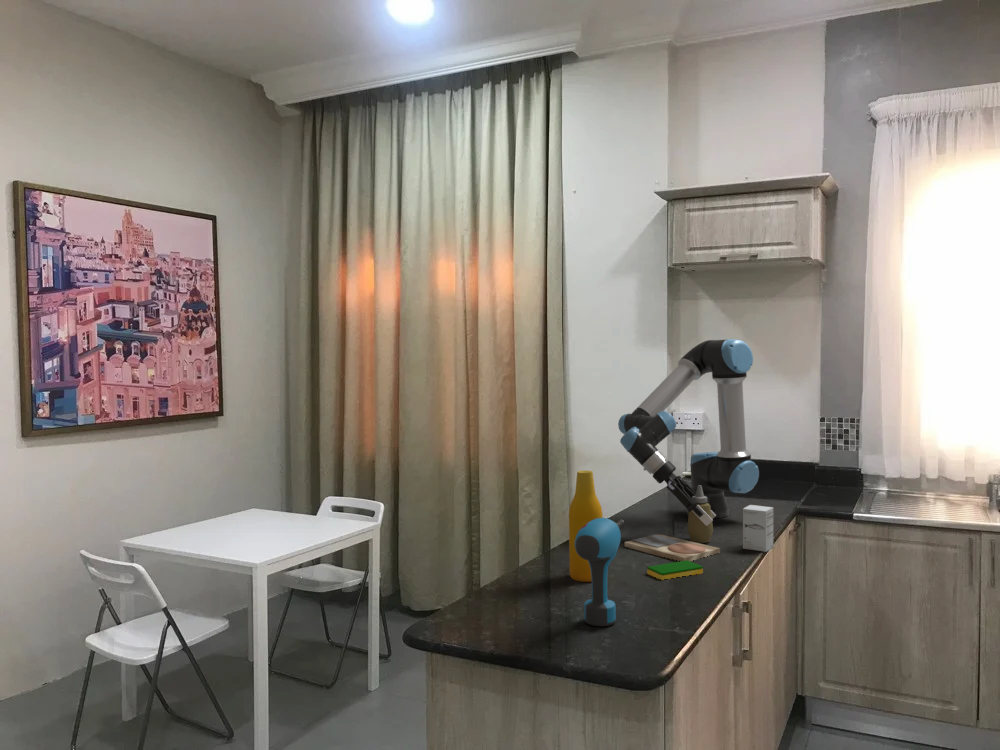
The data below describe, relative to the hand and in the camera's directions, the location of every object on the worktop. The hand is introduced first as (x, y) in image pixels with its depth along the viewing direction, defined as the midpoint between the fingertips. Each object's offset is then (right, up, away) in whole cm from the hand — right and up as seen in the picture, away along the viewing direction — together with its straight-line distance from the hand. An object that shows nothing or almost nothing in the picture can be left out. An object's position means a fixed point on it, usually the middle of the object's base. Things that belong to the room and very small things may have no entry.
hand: (711, 520), depth 243 cm
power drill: (-42, -10, -65) cm, 78 cm away
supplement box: (+12, -7, -8) cm, 16 cm away
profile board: (-15, -7, -8) cm, 18 cm away
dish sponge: (-19, -9, -32) cm, 39 cm away
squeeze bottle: (-3, -7, +2) cm, 8 cm away
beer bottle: (-44, -9, -34) cm, 56 cm away
